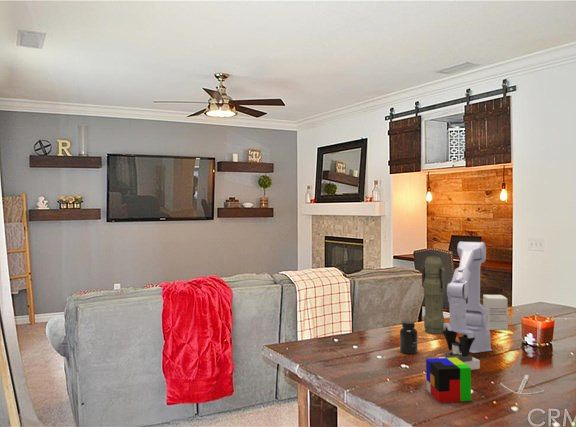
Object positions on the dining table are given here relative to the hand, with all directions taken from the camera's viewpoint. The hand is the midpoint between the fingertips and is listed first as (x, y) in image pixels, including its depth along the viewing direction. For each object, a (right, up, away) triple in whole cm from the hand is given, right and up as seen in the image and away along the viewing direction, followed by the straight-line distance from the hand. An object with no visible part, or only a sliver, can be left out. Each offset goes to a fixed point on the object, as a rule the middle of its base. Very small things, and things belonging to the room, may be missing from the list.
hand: (458, 352), depth 173 cm
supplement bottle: (-13, -5, +19) cm, 24 cm away
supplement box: (+37, -4, +54) cm, 65 cm away
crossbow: (+14, -6, -19) cm, 24 cm away
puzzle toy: (-12, -6, -25) cm, 28 cm away
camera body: (0, -5, 0) cm, 5 cm away
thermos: (+6, -5, +48) cm, 49 cm away
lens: (0, -2, 0) cm, 2 cm away
